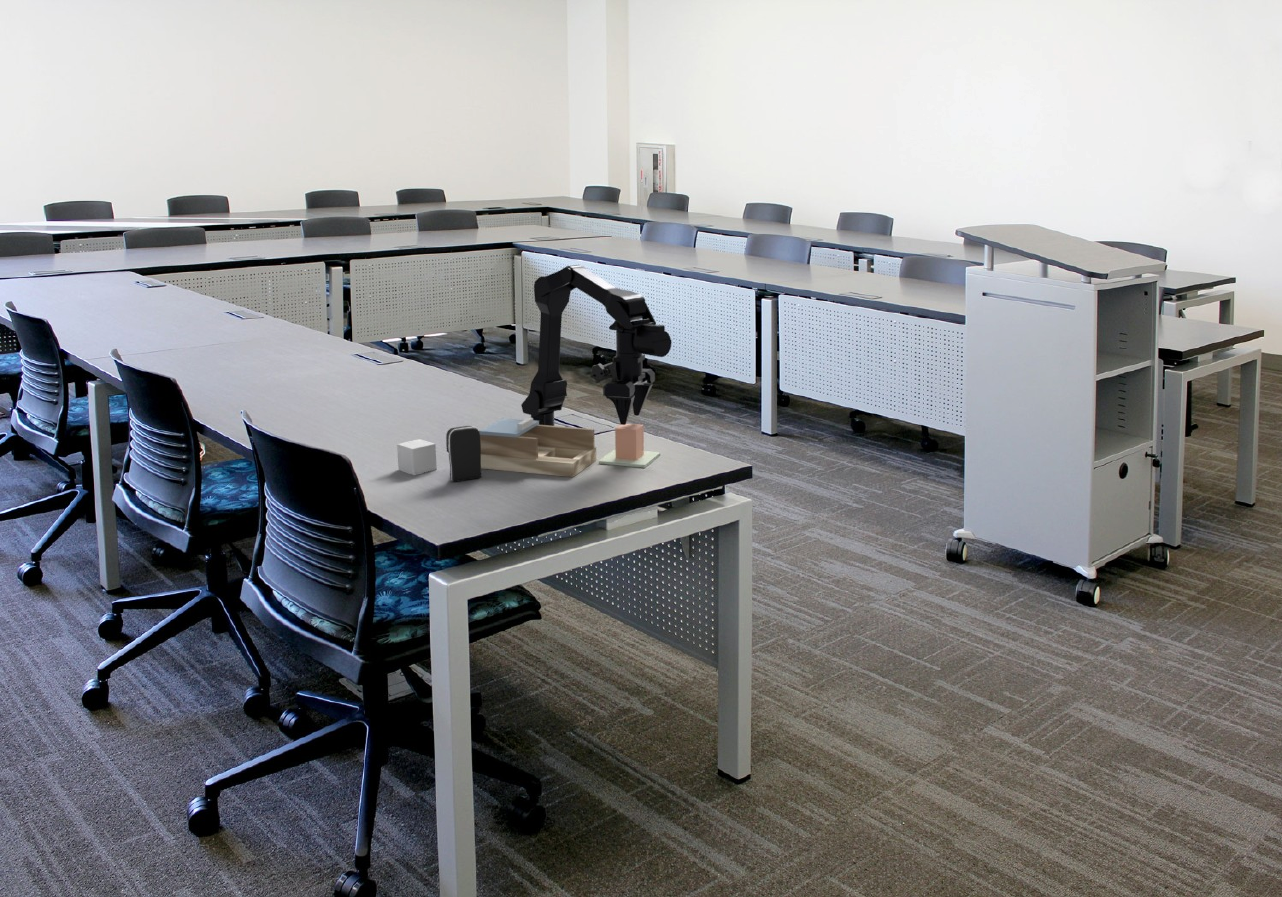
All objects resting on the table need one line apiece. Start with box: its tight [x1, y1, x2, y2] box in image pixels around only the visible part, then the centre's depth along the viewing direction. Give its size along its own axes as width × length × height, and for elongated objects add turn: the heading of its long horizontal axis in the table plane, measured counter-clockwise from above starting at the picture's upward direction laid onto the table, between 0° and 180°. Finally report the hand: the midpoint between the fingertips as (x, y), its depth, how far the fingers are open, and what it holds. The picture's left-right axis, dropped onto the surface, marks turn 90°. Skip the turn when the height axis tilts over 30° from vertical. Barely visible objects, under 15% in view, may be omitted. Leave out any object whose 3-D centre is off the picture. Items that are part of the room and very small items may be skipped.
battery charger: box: [445, 425, 482, 482], centre depth 251 cm, size 7×4×11 cm, turn 120°
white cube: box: [396, 438, 438, 476], centre depth 258 cm, size 6×6×6 cm
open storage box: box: [480, 425, 597, 478], centre depth 262 cm, size 14×24×8 cm, turn 71°
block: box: [614, 423, 645, 460], centre depth 265 cm, size 5×5×7 cm
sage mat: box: [598, 448, 661, 469], centre depth 266 cm, size 11×11×1 cm
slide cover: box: [479, 417, 539, 437], centre depth 263 cm, size 12×9×2 cm
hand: (630, 419), depth 264 cm, fingers open, 9 cm apart
